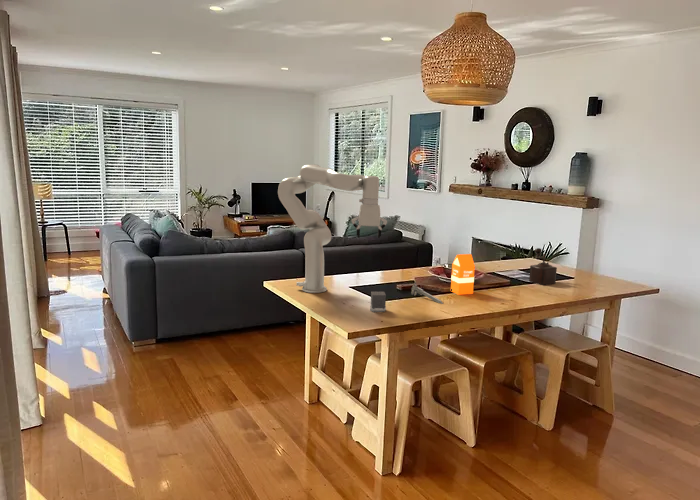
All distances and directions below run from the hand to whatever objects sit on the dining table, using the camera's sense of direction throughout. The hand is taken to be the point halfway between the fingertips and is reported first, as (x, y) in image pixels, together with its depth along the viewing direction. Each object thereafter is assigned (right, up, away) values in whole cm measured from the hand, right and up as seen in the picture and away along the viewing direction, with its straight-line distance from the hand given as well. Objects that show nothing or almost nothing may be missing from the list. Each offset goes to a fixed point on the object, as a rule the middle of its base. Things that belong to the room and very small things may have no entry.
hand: (368, 237), depth 260 cm
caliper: (+29, -31, +5) cm, 42 cm away
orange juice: (+49, -28, +19) cm, 59 cm away
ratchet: (+3, -32, -9) cm, 34 cm away
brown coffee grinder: (+98, -24, +46) cm, 111 cm away
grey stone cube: (+4, -31, -17) cm, 36 cm away
